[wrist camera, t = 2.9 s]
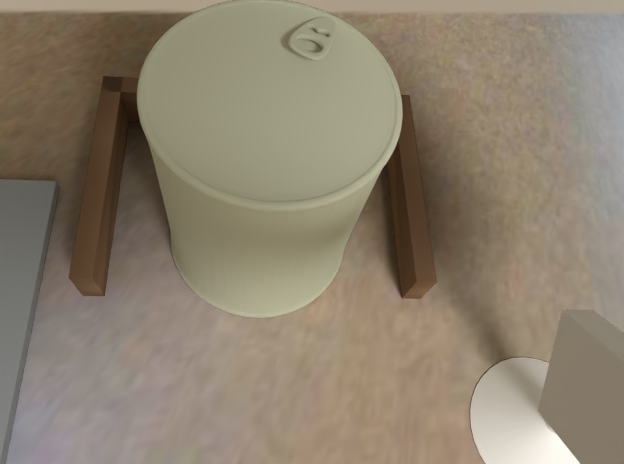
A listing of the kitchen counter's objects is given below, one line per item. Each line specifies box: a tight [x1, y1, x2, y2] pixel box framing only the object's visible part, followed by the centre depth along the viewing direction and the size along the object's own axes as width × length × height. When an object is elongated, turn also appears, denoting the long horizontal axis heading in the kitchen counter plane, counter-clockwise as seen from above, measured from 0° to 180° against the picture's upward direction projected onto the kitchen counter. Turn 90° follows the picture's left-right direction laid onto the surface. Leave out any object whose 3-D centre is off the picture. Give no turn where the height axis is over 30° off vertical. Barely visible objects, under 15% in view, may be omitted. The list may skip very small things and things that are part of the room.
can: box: [137, 0, 403, 318], centre depth 23 cm, size 9×9×12 cm
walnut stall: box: [69, 76, 437, 299], centre depth 28 cm, size 17×12×2 cm
